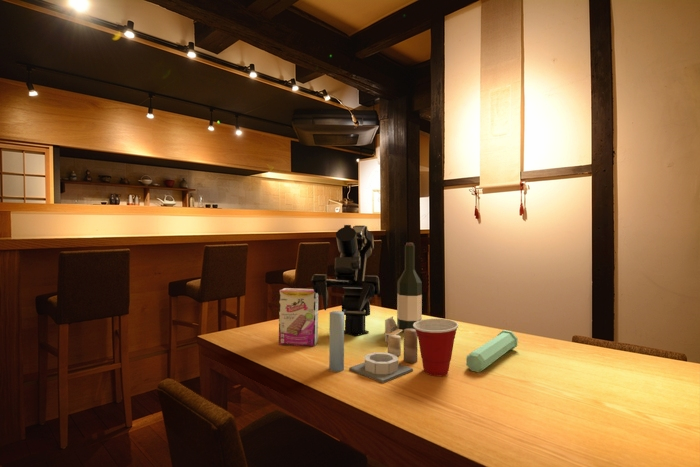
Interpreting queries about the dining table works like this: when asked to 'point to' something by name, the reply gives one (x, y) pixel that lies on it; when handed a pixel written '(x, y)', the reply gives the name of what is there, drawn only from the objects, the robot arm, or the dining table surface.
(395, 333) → the architectural model
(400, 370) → the socket
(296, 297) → the candy bar box
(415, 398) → the dining table surface
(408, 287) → the wine bottle
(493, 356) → the container
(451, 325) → the plastic cup
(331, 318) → the long dowel
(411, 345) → the medium dowel
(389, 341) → the short dowel
